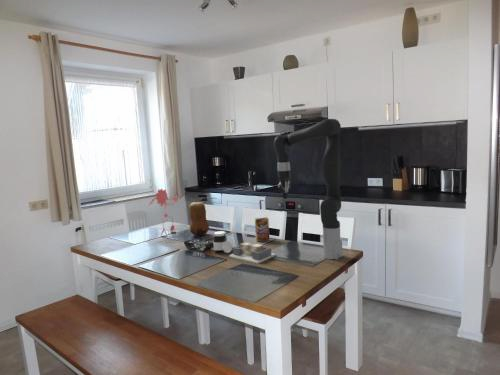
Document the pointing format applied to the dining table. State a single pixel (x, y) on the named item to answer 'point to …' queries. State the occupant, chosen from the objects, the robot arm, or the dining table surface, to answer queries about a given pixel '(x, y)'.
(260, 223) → the candy box
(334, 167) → the robot arm
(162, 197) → the red flower in vase
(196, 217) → the butternut squash
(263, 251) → the cradle
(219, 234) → the spread jar
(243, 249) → the slat
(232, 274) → the dining table surface
